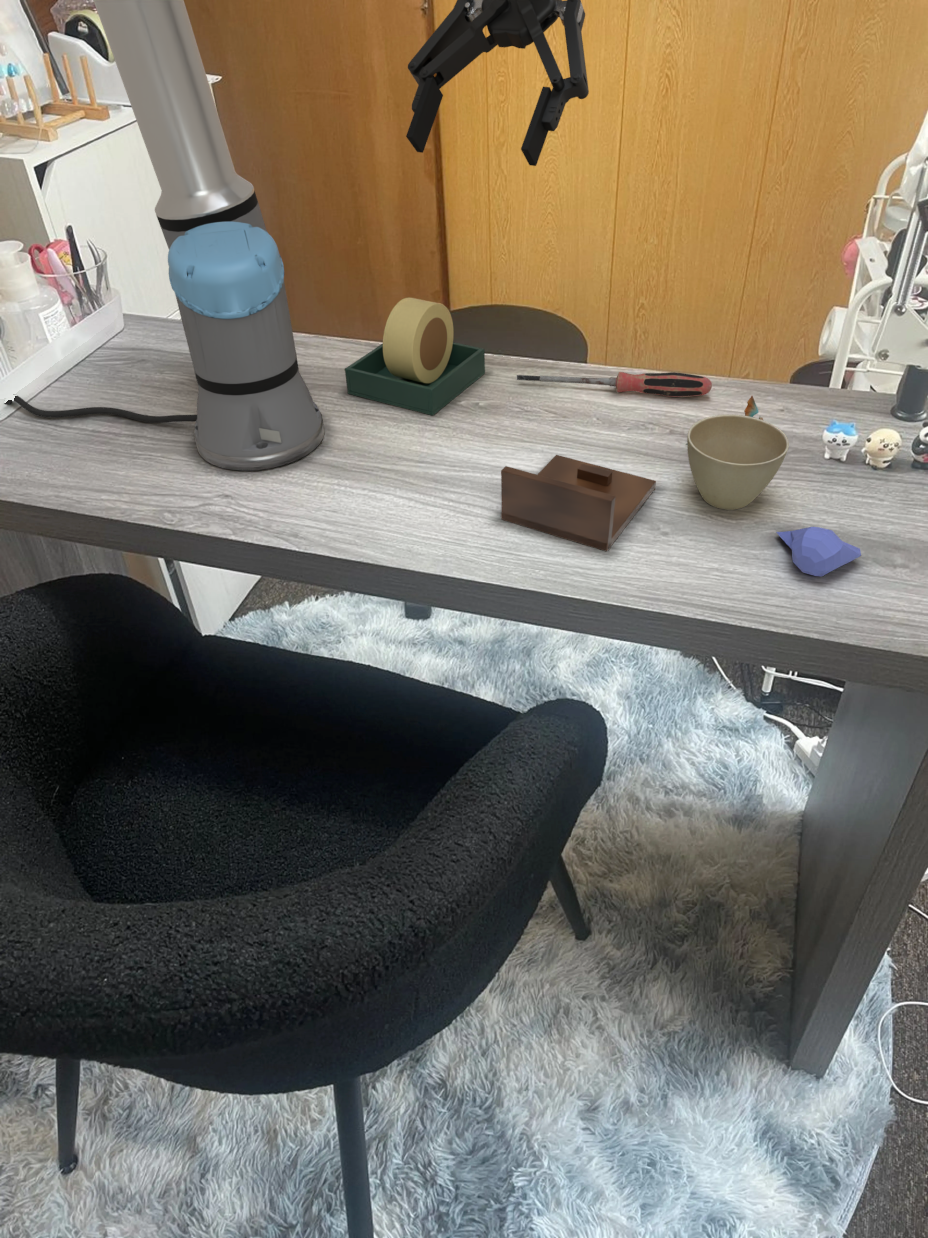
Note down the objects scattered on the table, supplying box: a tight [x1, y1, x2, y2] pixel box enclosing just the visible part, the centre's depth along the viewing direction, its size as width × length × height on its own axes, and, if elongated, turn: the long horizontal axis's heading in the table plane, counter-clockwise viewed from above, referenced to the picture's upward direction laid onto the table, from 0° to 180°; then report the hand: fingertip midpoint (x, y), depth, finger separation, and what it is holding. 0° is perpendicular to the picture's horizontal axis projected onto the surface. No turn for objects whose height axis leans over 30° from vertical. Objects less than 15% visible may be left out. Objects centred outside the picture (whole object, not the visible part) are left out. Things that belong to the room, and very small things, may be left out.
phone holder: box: [500, 454, 657, 552], centre depth 93 cm, size 12×13×6 cm
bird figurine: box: [776, 526, 862, 577], centre depth 85 cm, size 8×6×6 cm
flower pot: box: [686, 413, 790, 511], centre depth 92 cm, size 10×10×7 cm
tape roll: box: [382, 297, 455, 384], centre depth 114 cm, size 5×10×10 cm, turn 150°
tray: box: [344, 341, 486, 417], centre depth 116 cm, size 13×13×4 cm
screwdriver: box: [516, 371, 713, 398], centre depth 113 cm, size 25×3×3 cm
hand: (469, 151), depth 91 cm, fingers open, 13 cm apart
